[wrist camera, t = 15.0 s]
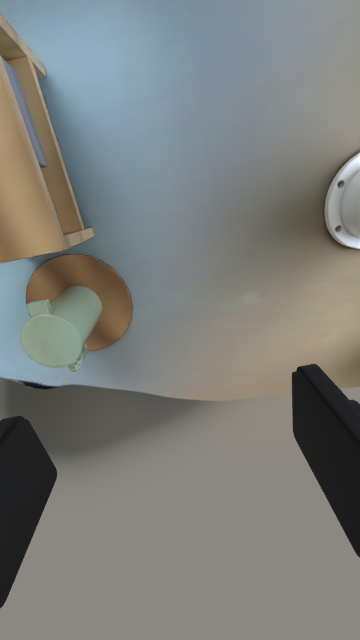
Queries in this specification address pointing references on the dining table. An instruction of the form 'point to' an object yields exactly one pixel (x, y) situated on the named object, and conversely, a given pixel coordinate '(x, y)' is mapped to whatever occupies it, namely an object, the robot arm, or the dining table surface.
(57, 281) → the disc
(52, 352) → the jug
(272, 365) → the dining table surface
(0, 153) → the shelf unit
